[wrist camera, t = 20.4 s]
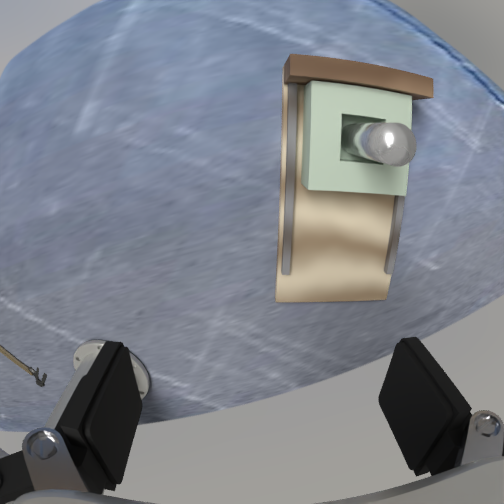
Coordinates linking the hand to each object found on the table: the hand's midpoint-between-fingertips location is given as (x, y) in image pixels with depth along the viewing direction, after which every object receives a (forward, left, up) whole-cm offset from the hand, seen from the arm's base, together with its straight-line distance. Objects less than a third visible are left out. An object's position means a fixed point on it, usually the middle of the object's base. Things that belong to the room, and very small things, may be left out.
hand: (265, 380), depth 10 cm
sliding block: (+8, -10, -24) cm, 27 cm away
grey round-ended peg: (+8, -10, -23) cm, 26 cm away
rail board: (+2, -10, -25) cm, 27 cm away
